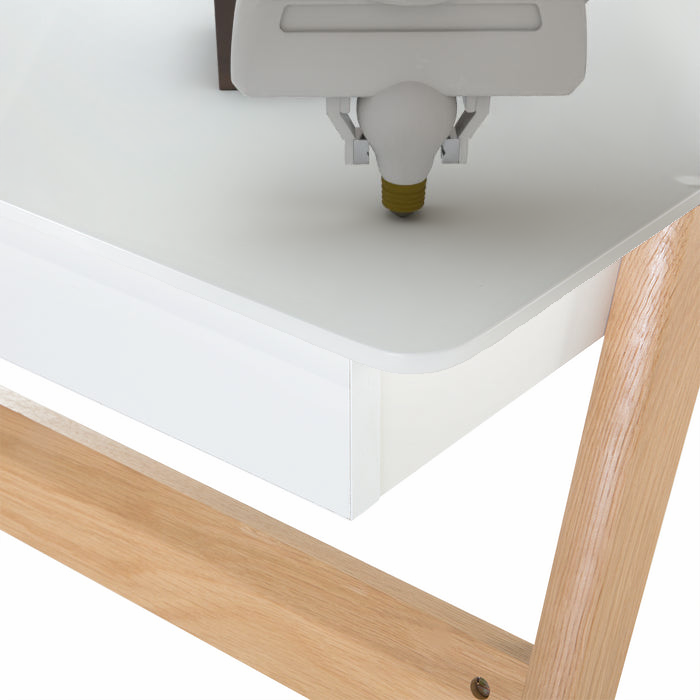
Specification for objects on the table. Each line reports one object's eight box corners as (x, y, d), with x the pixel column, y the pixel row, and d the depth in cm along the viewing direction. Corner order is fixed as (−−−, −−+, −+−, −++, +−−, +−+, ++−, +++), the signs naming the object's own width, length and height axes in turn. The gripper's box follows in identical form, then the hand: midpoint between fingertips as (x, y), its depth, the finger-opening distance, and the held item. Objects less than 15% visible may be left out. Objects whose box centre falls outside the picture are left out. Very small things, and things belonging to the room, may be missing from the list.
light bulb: (469, 222, 75) (480, 65, 70) (387, 246, 73) (392, 86, 67) (416, 184, 79) (422, 34, 74) (337, 206, 77) (337, 51, 71)
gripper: (592, -91, 69) (567, 137, 77) (227, -90, 69) (239, 139, 76) (615, -58, 64) (585, 182, 72) (221, -57, 63) (234, 185, 71)
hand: (404, 160), depth 74 cm, fingers closed on light bulb, 4 cm apart
